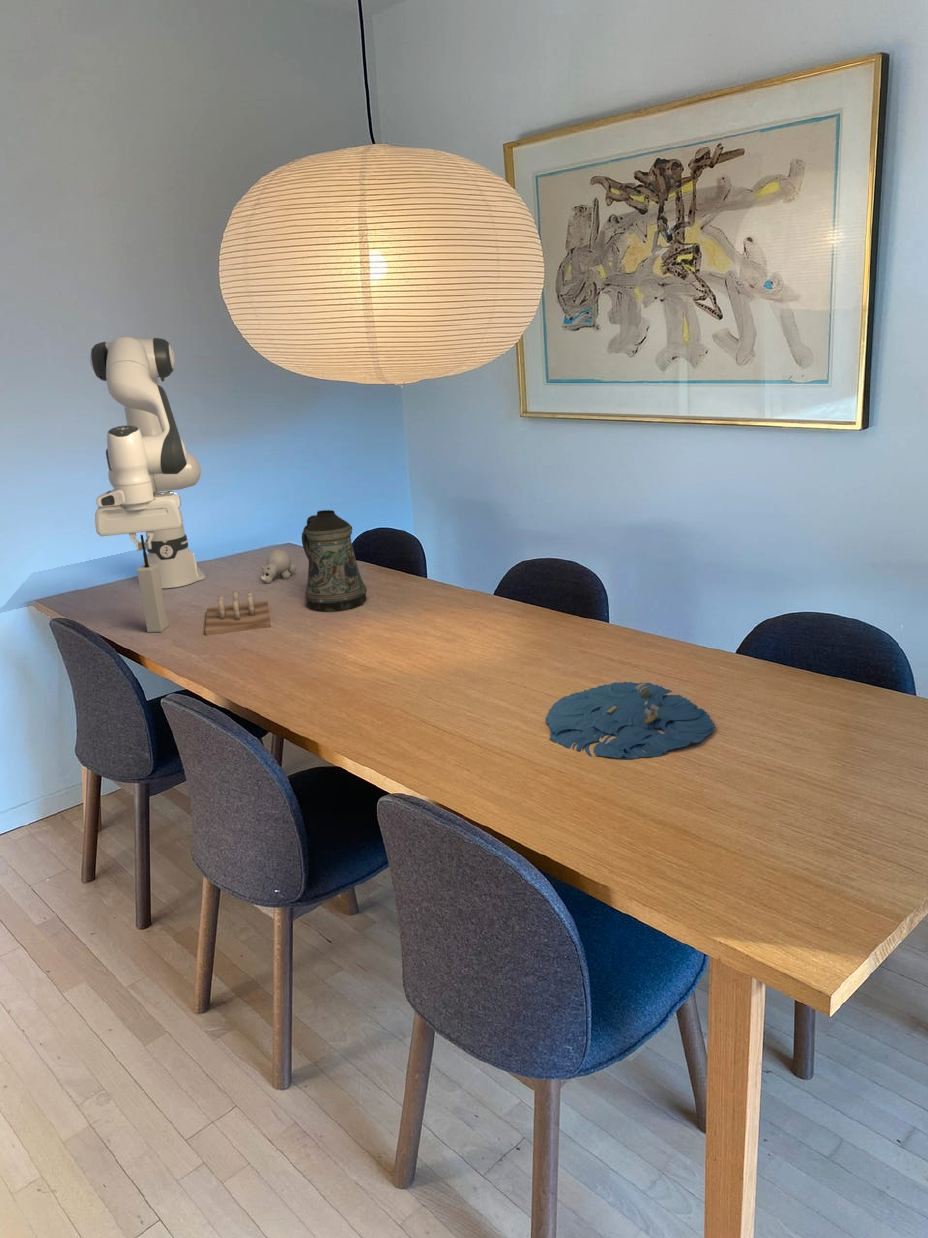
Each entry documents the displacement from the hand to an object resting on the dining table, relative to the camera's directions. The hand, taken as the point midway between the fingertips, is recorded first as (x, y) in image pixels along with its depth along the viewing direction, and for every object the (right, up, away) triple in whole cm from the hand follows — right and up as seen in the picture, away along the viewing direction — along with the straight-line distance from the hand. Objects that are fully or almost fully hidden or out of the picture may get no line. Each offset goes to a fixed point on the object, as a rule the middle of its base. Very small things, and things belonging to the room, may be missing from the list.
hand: (144, 549), depth 222 cm
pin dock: (+21, -17, +11) cm, 29 cm away
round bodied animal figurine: (+23, -6, +47) cm, 52 cm away
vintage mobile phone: (+1, -20, +7) cm, 21 cm away
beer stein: (+44, -13, +20) cm, 50 cm away
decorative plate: (+109, -36, -61) cm, 131 cm away
